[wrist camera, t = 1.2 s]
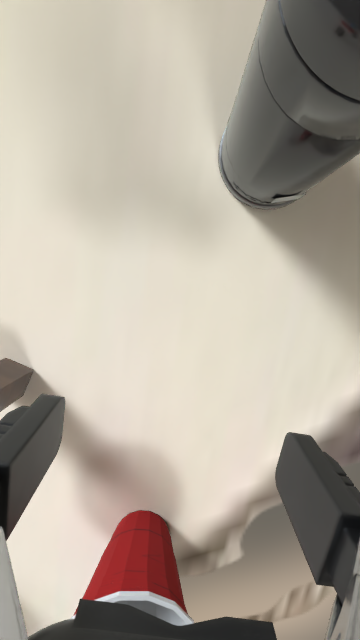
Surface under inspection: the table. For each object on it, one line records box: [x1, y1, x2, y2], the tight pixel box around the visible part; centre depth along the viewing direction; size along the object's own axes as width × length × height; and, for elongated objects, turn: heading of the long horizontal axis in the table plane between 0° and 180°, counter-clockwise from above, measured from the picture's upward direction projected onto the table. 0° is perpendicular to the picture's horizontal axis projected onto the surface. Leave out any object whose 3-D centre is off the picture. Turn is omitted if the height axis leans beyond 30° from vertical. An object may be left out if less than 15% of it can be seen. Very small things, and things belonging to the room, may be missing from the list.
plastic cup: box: [70, 510, 194, 626], centre depth 28 cm, size 11×11×12 cm
